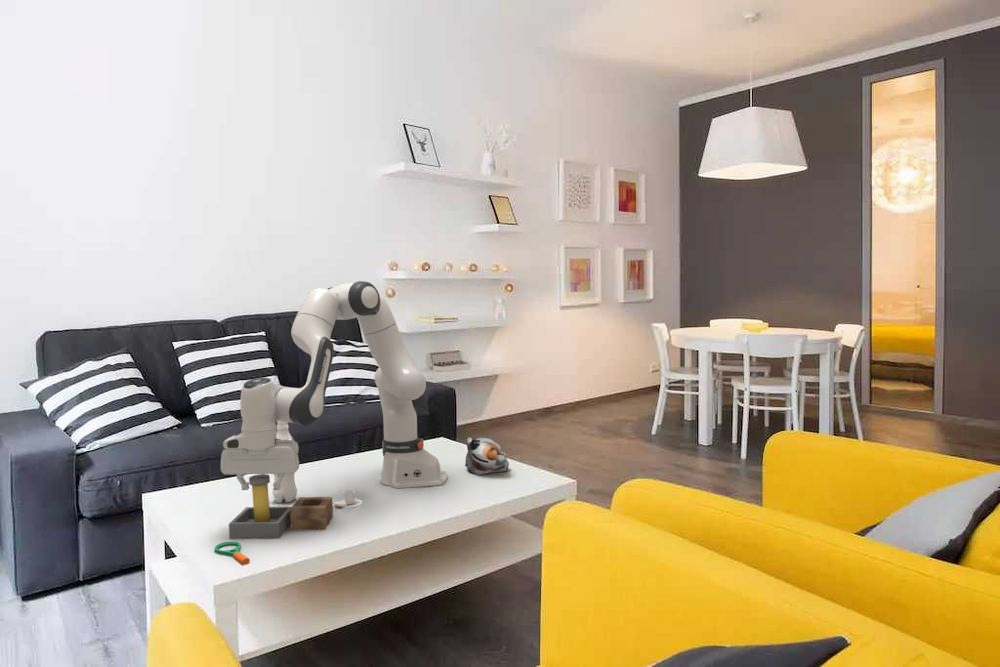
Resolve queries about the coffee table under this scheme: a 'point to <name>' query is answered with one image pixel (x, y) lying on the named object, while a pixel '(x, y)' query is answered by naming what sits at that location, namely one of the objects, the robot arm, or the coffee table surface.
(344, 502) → the teacup and saucer
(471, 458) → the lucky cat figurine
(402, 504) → the coffee table surface
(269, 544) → the coffee table surface
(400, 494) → the coffee table surface
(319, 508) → the holder
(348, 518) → the coffee table surface
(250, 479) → the peg
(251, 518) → the tray
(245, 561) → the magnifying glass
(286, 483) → the water bottle
